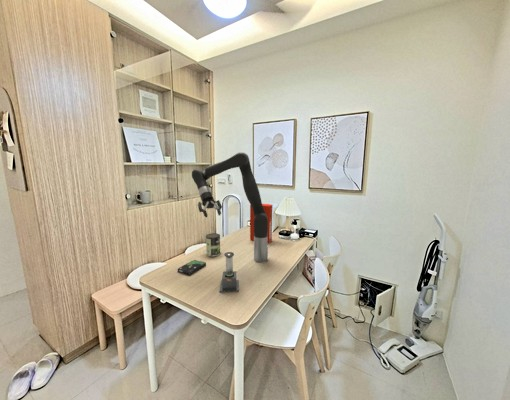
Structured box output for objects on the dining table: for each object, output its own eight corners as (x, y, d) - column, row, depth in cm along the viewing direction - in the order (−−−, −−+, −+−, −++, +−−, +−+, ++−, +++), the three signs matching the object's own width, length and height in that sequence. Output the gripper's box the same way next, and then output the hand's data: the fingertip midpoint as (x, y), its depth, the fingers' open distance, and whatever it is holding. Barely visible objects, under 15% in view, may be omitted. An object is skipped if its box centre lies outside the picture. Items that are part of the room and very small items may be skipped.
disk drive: (190, 277, 126) (206, 266, 139) (189, 272, 125) (206, 262, 138) (177, 272, 130) (194, 262, 143) (177, 268, 130) (194, 258, 143)
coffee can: (222, 251, 161) (222, 233, 159) (217, 257, 151) (216, 238, 149) (209, 250, 163) (209, 232, 161) (204, 255, 153) (203, 237, 151)
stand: (238, 281, 120) (238, 269, 119) (238, 291, 110) (238, 279, 109) (221, 281, 119) (220, 270, 118) (219, 292, 110) (219, 280, 108)
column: (234, 274, 116) (234, 251, 114) (234, 279, 112) (233, 255, 109) (225, 274, 116) (224, 252, 114) (224, 279, 111) (224, 256, 109)
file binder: (268, 243, 177) (269, 206, 172) (250, 240, 184) (250, 204, 178) (271, 240, 185) (272, 204, 179) (253, 237, 191) (253, 202, 186)
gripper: (196, 191, 129) (203, 213, 122) (217, 190, 137) (225, 210, 130) (193, 199, 135) (200, 220, 127) (214, 197, 143) (222, 217, 135)
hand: (213, 215), depth 129 cm, fingers open, 8 cm apart
